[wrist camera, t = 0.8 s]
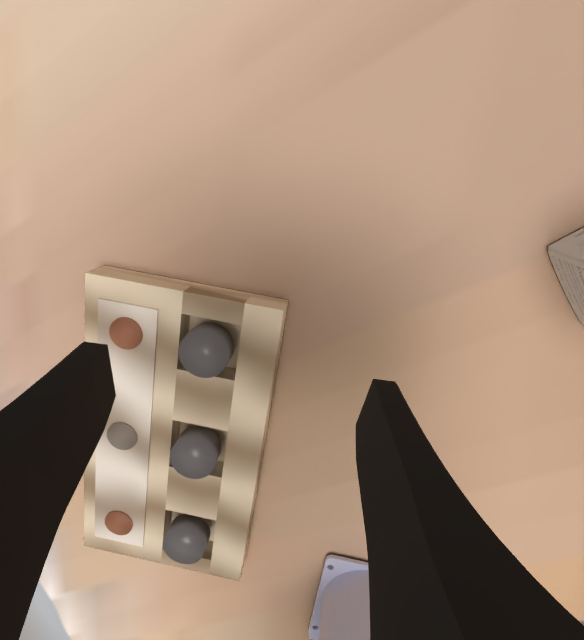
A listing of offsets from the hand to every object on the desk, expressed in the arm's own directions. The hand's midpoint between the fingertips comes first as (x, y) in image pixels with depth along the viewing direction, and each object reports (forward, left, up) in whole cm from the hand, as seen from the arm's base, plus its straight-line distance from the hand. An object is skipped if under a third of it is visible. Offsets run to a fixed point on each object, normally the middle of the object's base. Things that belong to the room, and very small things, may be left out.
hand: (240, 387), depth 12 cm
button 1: (-6, +5, -16) cm, 18 cm away
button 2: (-22, +5, -16) cm, 28 cm away
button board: (-14, +7, -18) cm, 24 cm away
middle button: (-14, +5, -16) cm, 22 cm away
